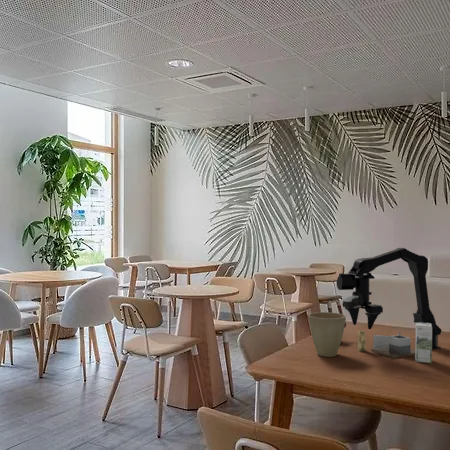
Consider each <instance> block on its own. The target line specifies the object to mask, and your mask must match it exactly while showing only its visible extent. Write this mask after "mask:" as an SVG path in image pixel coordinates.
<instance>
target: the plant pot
mask: <svg viewBox="0 0 450 450" xmlns="http://www.w3.org/2000/svg"><path fill="white" fill-rule="evenodd" d="M346 319H347V315H345V314H344V313H338V312H327V311H325V312H321V311H318V312H311V313H308V322H309V323H308V324H309V329H310V333H311V337H312V341H313V344H314V348H315V350H316V351H315V352H316V353H317V355H318V356H321V357H326V358H327V357H329V358H333V357H336V356H337V354H338V351H339V349H340V346H341V344H342V340H343V336H344V330H345V328H346V327H345V322H346V321H347V320H346ZM344 327H345V328H344Z"/></svg>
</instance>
